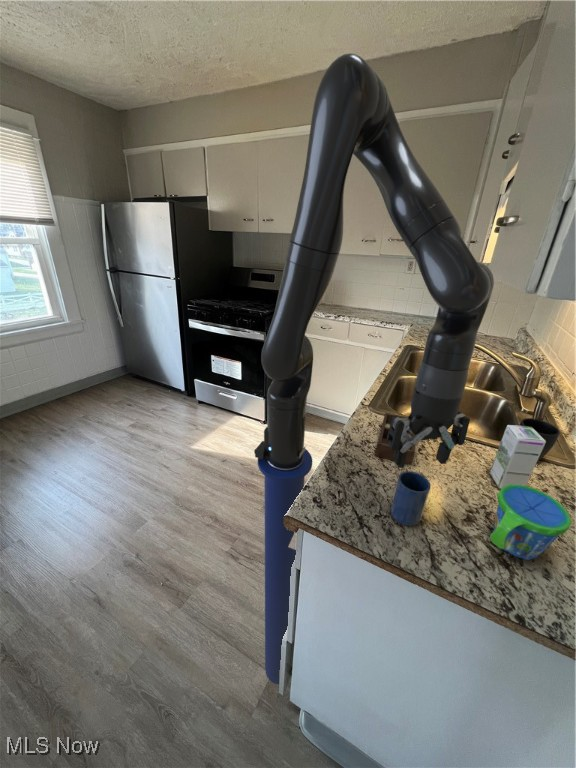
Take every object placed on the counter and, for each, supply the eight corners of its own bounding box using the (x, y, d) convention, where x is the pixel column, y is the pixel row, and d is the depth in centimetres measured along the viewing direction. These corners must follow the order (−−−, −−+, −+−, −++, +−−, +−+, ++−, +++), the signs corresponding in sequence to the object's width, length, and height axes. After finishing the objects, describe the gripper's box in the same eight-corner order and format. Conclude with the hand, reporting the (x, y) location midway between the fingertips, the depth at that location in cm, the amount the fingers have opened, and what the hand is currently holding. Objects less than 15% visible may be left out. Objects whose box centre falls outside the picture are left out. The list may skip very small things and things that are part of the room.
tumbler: (389, 520, 64) (397, 487, 61) (392, 499, 70) (399, 468, 66) (420, 530, 63) (430, 496, 59) (420, 508, 68) (430, 476, 64)
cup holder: (375, 456, 83) (377, 443, 82) (382, 423, 98) (385, 412, 96) (411, 465, 80) (414, 452, 79) (413, 430, 95) (416, 418, 93)
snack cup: (510, 582, 53) (532, 541, 49) (461, 531, 62) (476, 493, 58) (571, 556, 58) (596, 516, 54) (517, 512, 67) (535, 476, 63)
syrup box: (524, 492, 73) (548, 441, 67) (497, 488, 74) (518, 437, 67) (512, 475, 78) (534, 426, 72) (487, 472, 79) (506, 423, 72)
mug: (489, 443, 90) (500, 415, 86) (534, 448, 89) (547, 419, 85) (503, 462, 83) (515, 432, 79) (552, 467, 81) (567, 437, 77)
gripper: (462, 376, 58) (442, 448, 65) (389, 380, 56) (376, 453, 63) (492, 395, 51) (466, 473, 58) (410, 399, 49) (393, 480, 56)
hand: (419, 463), depth 60 cm, fingers open, 8 cm apart
